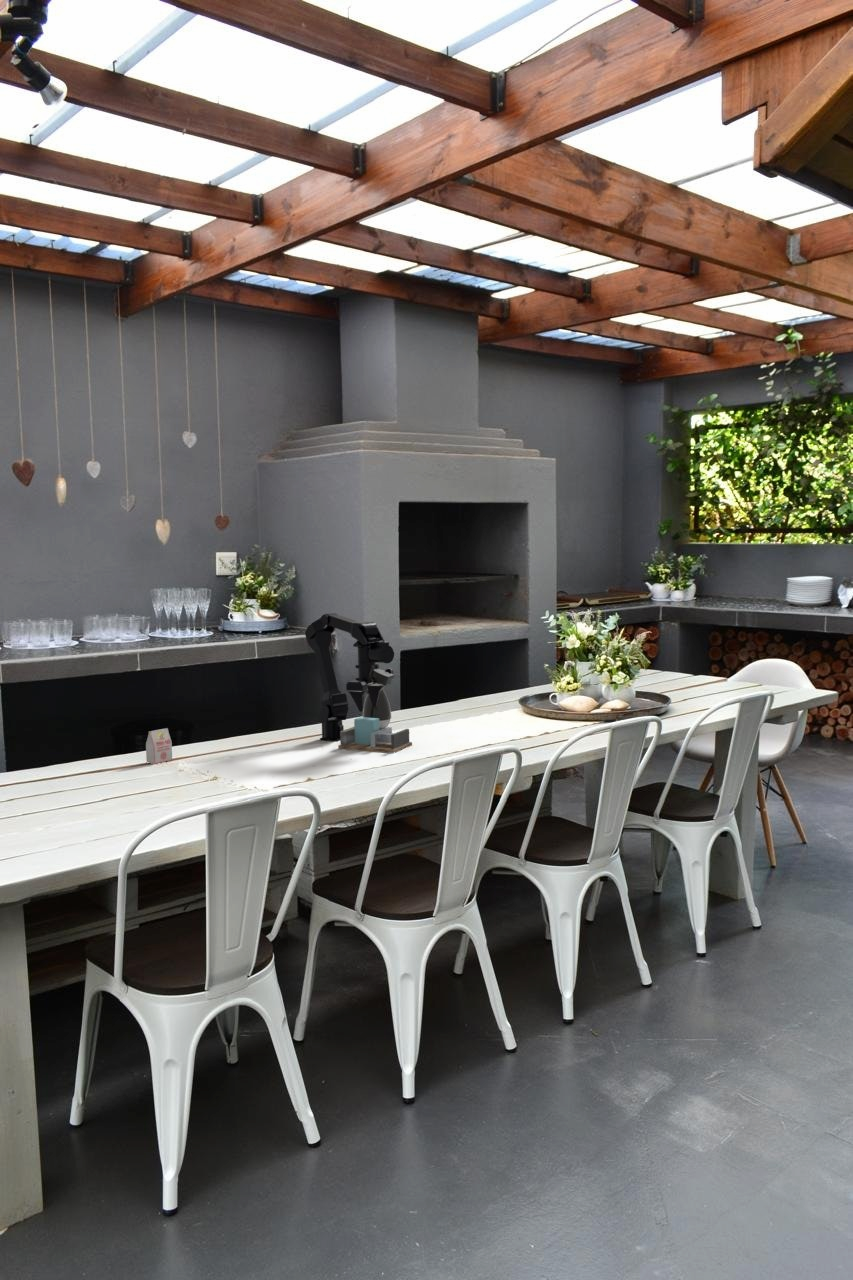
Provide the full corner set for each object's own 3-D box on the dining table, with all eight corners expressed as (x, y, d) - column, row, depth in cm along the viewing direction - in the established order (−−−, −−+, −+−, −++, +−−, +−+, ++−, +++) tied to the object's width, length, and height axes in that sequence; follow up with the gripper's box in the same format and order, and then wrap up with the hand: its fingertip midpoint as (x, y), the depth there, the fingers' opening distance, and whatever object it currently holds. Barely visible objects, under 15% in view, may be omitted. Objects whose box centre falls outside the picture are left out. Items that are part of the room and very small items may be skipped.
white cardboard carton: (146, 763, 308) (145, 730, 307) (164, 759, 314) (163, 727, 313) (154, 764, 306) (152, 732, 305) (172, 760, 311) (171, 728, 310)
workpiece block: (354, 743, 328) (354, 719, 327) (360, 741, 332) (360, 717, 331) (374, 745, 325) (373, 720, 324) (379, 742, 329) (379, 718, 328)
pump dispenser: (361, 726, 365) (360, 684, 364) (390, 725, 366) (389, 683, 365) (363, 731, 355) (362, 688, 353) (392, 730, 356) (391, 687, 355)
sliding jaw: (370, 747, 321) (370, 733, 320) (387, 740, 332) (387, 727, 331) (393, 749, 318) (393, 735, 317) (410, 741, 328) (409, 728, 328)
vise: (338, 748, 325) (338, 731, 325) (357, 741, 337) (357, 724, 337) (394, 752, 317) (393, 735, 316) (412, 745, 329) (411, 728, 328)
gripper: (375, 665, 314) (376, 715, 315) (402, 658, 331) (403, 706, 332) (344, 664, 318) (345, 713, 320) (371, 658, 335) (373, 704, 337)
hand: (368, 709), depth 327 cm, fingers open, 9 cm apart
